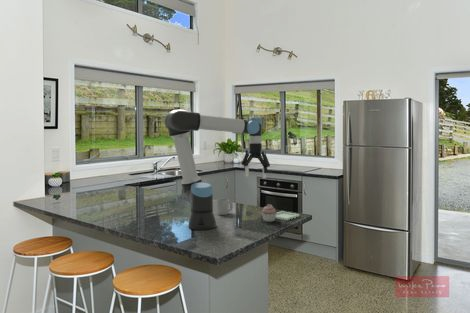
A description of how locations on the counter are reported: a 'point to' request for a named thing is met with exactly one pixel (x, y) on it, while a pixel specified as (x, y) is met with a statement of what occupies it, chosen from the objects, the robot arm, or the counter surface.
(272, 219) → the cupcake
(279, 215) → the pale green scalloped tray
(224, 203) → the cup
